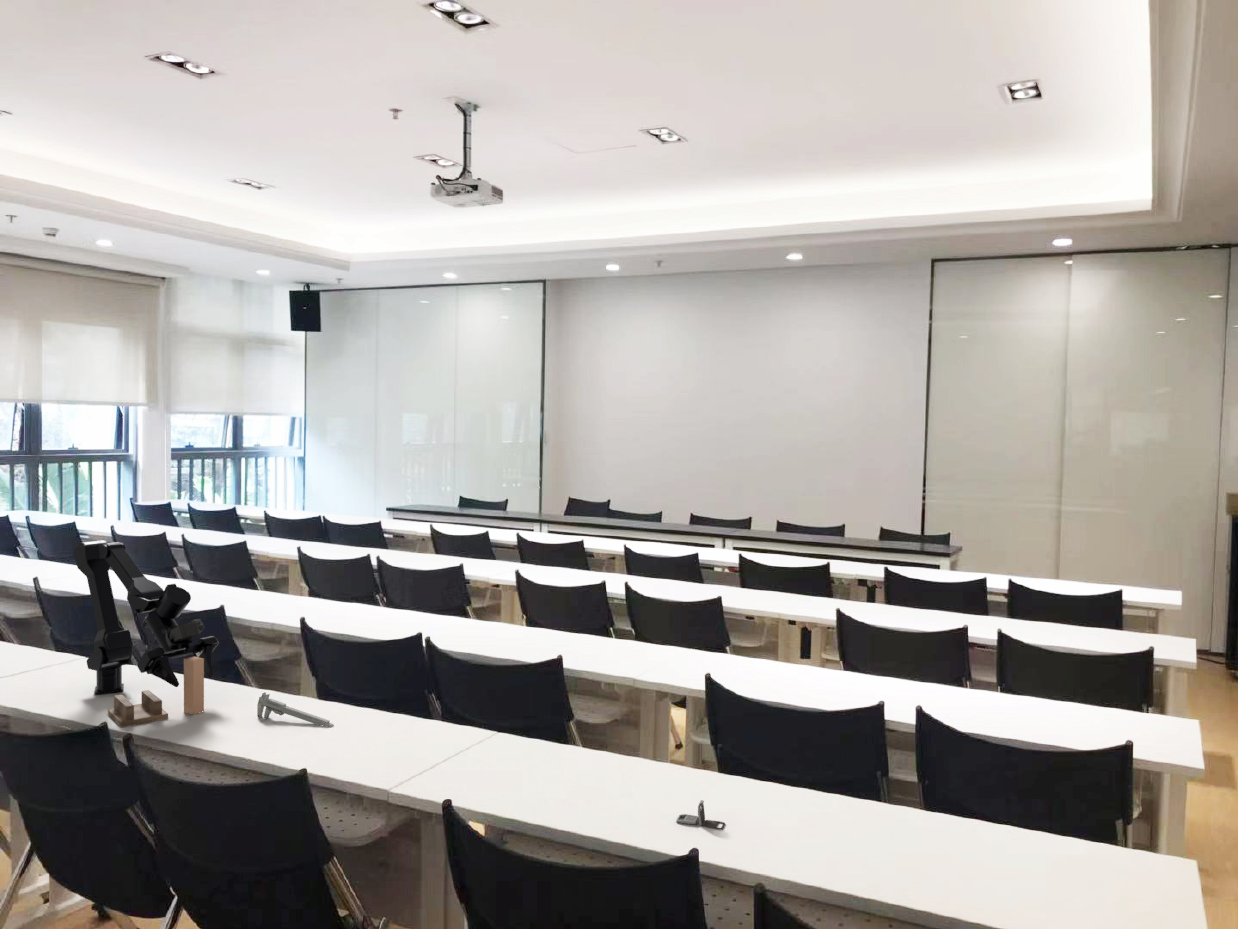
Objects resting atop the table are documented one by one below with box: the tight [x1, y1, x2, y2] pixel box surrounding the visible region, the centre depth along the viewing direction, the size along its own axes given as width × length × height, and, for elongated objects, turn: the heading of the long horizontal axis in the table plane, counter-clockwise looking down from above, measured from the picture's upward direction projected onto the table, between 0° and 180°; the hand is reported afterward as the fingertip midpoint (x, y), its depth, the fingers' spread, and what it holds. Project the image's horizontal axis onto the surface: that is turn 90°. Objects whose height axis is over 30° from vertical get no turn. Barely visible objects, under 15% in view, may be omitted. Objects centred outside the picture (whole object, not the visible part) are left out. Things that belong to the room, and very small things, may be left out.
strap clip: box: [676, 799, 726, 831], centre depth 165 cm, size 8×3×4 cm, turn 73°
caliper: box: [256, 692, 335, 728], centre depth 216 cm, size 20×1×6 cm, turn 73°
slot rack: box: [107, 689, 169, 728], centre depth 218 cm, size 12×10×4 cm
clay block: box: [183, 656, 205, 716], centre depth 222 cm, size 4×3×13 cm
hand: (195, 681), depth 222 cm, fingers open, 9 cm apart
